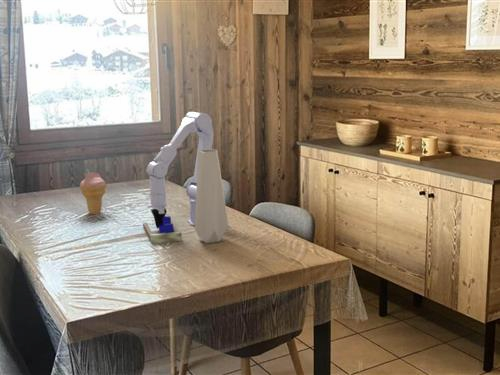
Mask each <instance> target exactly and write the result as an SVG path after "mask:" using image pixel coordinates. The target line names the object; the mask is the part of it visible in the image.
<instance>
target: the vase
mask: <svg viewBox="0 0 500 375" xmlns="http://www.w3.org/2000/svg"><path fill="white" fill-rule="evenodd" d="M218 152H219V151H218V149H213V148H212V149H204V150H199V151H198V167H197V189H196V213H195V225H194V230H195V232H196V234H197V237H198V238H199V241H201V242H203V243H206V244H211V243H219V242H221V241H222V238H223V237H224V234H225V232H226V231H227V229H228V227H229V221H228V213H227V208H226V200H225V193H224V186H223V185H224V184H223V180H222V174H221V167H220V159H219V153H218Z"/></svg>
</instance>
